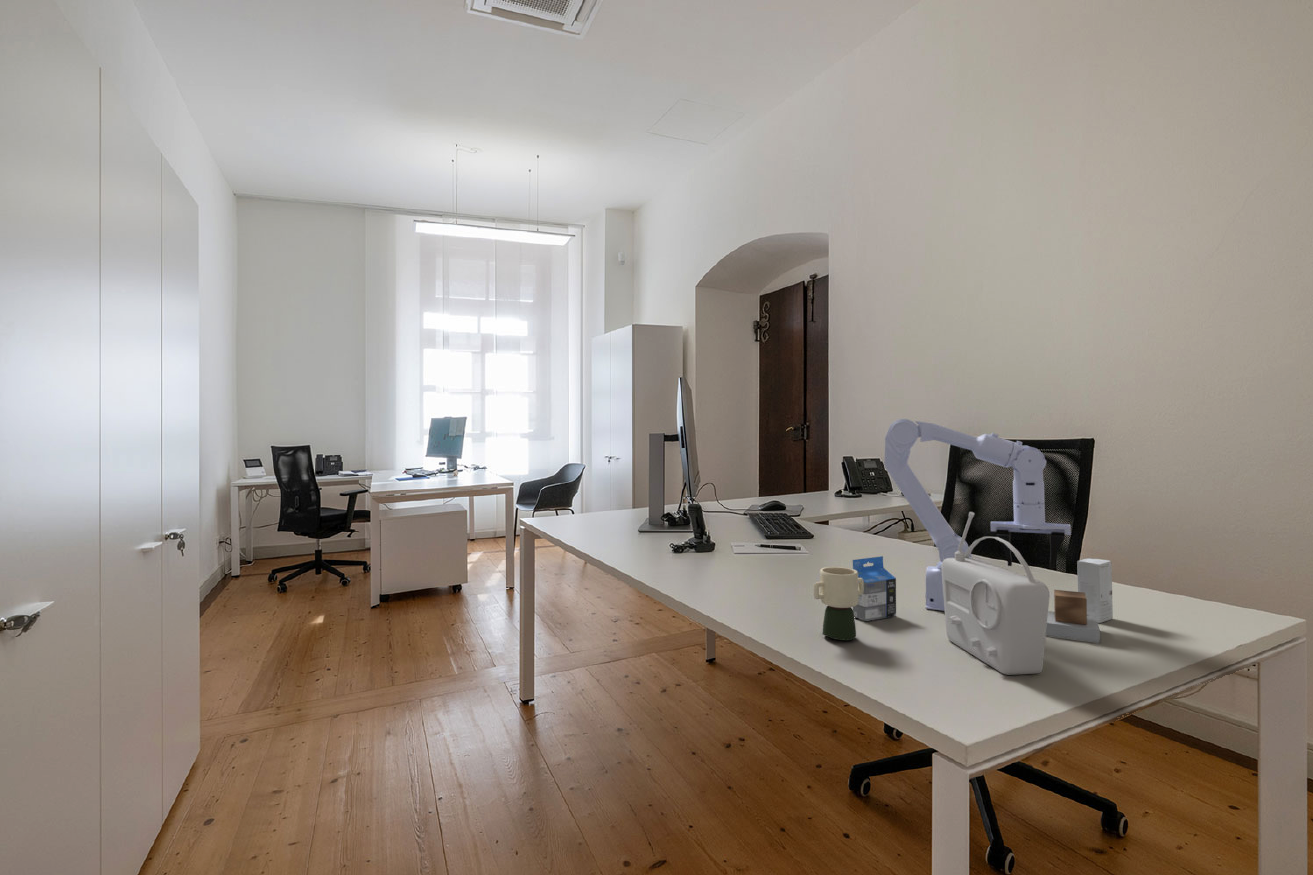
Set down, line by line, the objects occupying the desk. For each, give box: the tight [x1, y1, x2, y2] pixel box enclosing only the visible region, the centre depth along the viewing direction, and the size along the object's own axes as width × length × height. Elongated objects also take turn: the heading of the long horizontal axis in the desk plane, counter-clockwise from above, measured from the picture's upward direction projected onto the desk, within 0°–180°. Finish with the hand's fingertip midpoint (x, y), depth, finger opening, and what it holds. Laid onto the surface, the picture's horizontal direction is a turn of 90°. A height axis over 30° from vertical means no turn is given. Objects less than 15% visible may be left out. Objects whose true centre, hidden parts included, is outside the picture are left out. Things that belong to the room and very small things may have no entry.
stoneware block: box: [1046, 610, 1101, 644], centre depth 121 cm, size 9×9×3 cm
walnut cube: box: [1053, 589, 1087, 625], centre depth 121 cm, size 5×5×5 cm
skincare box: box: [1076, 557, 1114, 624], centre depth 130 cm, size 6×4×12 cm
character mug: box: [813, 566, 864, 641], centre depth 119 cm, size 11×7×13 cm, turn 108°
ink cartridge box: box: [852, 555, 897, 622], centre depth 132 cm, size 9×4×12 cm, turn 115°
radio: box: [941, 511, 1051, 676], centre depth 109 cm, size 22×8×25 cm, turn 4°
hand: (1030, 566), depth 132 cm, fingers open, 7 cm apart
